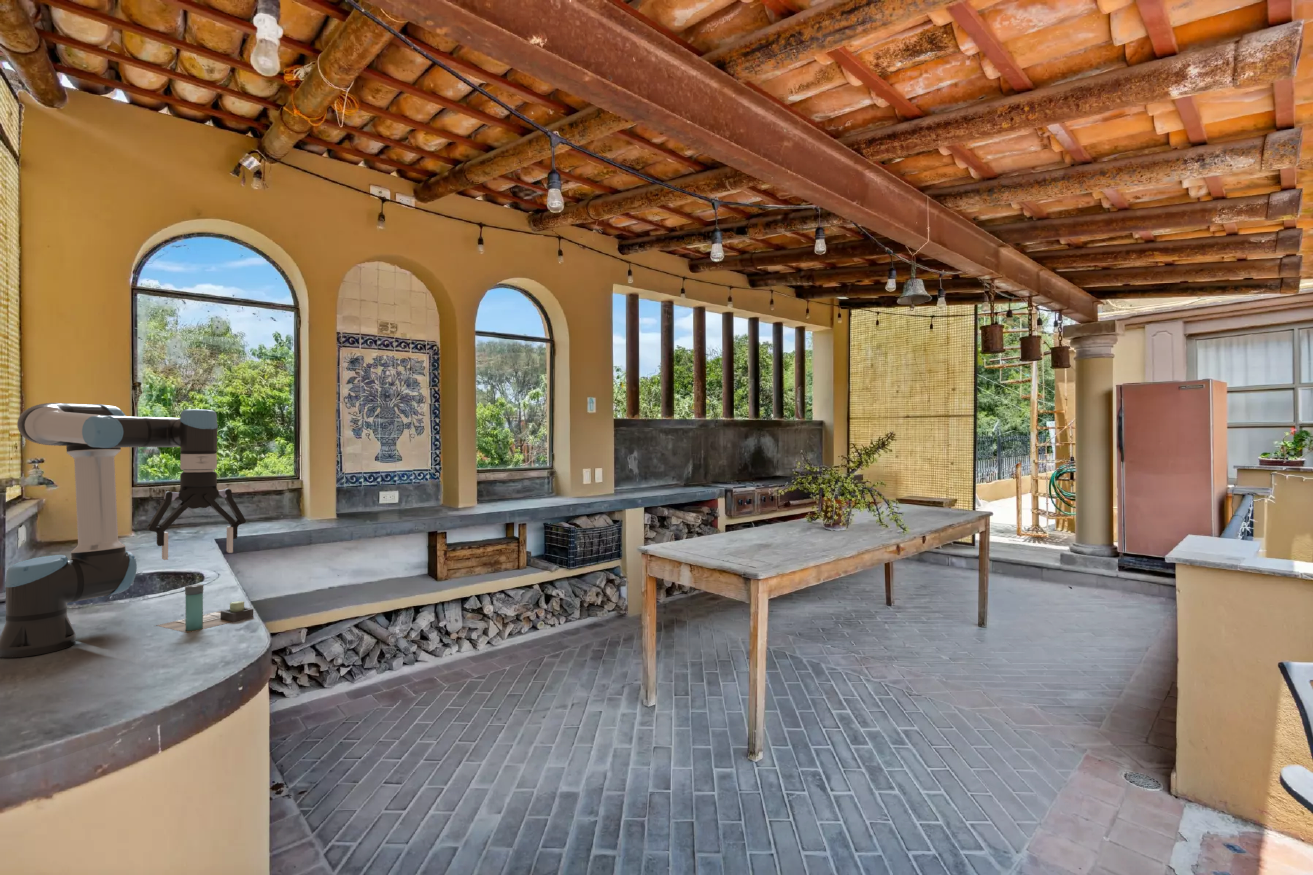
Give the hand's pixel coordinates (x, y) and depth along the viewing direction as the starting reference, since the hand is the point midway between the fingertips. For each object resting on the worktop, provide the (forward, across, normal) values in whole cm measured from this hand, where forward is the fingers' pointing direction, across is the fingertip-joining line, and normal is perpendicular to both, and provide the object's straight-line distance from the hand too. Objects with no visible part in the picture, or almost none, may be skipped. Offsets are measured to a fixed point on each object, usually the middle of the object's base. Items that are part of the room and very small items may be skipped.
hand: (198, 555), depth 163 cm
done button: (+22, +16, +28) cm, 39 cm away
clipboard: (+25, +9, +31) cm, 41 cm away
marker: (+24, +4, +24) cm, 34 cm away
